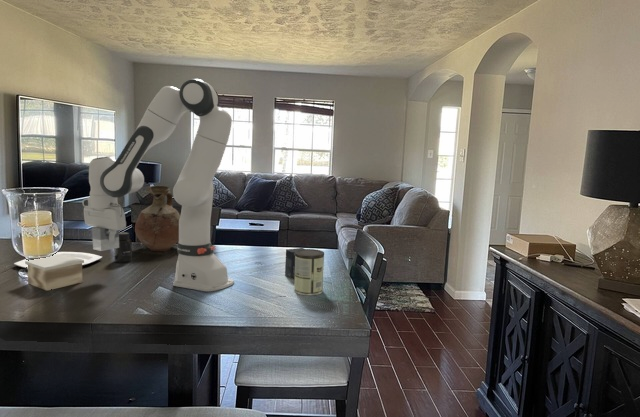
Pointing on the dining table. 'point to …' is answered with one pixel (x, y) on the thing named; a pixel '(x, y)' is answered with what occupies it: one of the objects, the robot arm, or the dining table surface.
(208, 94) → the robot arm
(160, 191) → the jug
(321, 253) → the coffee can
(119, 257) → the supplement bottle
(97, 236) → the block
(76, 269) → the stand
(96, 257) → the plate
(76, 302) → the dining table surface
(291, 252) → the box
